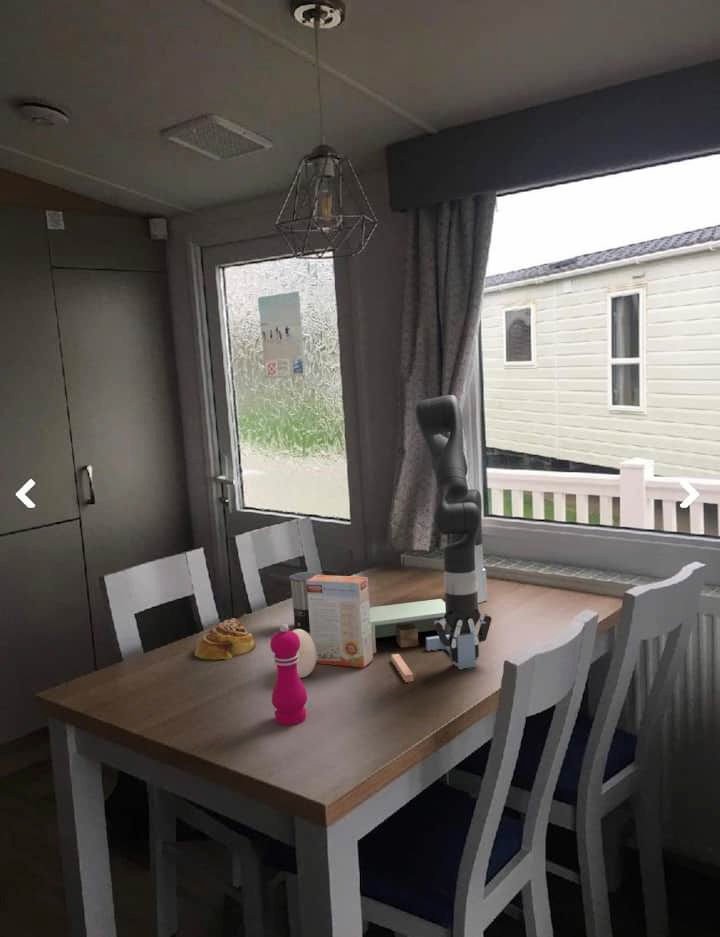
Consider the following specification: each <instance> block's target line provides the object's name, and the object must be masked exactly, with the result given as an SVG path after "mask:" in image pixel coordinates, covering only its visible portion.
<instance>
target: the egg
mask: <svg viewBox="0 0 720 937" xmlns="http://www.w3.org/2000/svg"><path fill="white" fill-rule="evenodd" d="M291 631H292V632H294V633H296V634H297V635H298V637H299V639H300V648H299V650H298V651H297V653H298V654H299V656H298V658H299V661H298V662H297V673H298V676H299V678H300V679H302V678H305V677H307V676H309V675H310V674H311V673H312V672H313V670H314V669H315V666H316V664H317V663H316V659H317V653H316V647H315V644H314V642H313V640H312V638H311V636H310V633H308V632H306V631H304V630H302V629H293V630H291Z"/></svg>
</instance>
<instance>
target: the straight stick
mask: <svg viewBox="0 0 720 937" xmlns="http://www.w3.org/2000/svg"><path fill="white" fill-rule="evenodd" d="M390 656H391V662H393V663H392V664H393V666H394V665H395V666H396V667H395V666H394V667H395V669H396V668H397V669H396V670H397V672H398V671H399V672H398V673H399V675H400V674H401V675H400V677H401V678H402V677H403V678H402V679H403V681H404V680H405V681H404V682H405V683H406V682H408V681H413V682H414V674H413V672H412V671H411V669H410V668H409V666H408V665H407V664H406V662H405V661H404V660H403V658H402V656H401V655H400V654H399V653H393V654H392V653H391V655H390ZM408 683H409V682H408Z"/></svg>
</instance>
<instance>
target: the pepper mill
mask: <svg viewBox="0 0 720 937" xmlns="http://www.w3.org/2000/svg"><path fill="white" fill-rule="evenodd" d="M292 631H293V630H289V626H288V624H287V623H282V624H281V625H280V626H279V631H278V632H276V633H275V634H274V635H272V637H271V639H270V650H271V652H272V653H273V654H274V656H273V659H274V660H273V662H274V664H275V665H276V667H277V668H276V669H277V677H276V680H275V684H274V685H273V689H272V693H271V704H272V706H273V707H274V708H275V709H276V710H275V711H274V714H275V722H276V723H278V724H279V725H283V726H294V725H298V724H300V723H302V722H304V721H305V720H306V718H307V710H306V707H305V705H306V703H307V702H308V694H307V690H306V688H305V686H304V683H303V682H302V680H301V678H299V676H298V673H297V662H298V661H299V658H298V656H299V654H298V653H297V651H298V650H299V648H300V639H299V637H298V635H297V634H296V633H294V632H292Z"/></svg>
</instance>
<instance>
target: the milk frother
mask: <svg viewBox="0 0 720 937" xmlns="http://www.w3.org/2000/svg"><path fill="white" fill-rule="evenodd" d="M315 575H324V574H323V573H322V572H319V571H304V572H297V573H294V574H291V575H289V579H290V587H291V596H292V597H291V598H292V610H293V620H294V622H293V624H294V626H293V630H295V629H302V630H304V631H306V632H307V633H308V632H309V633H310V624H309V610H308V596H307V583H306V581H307V580H308V579H310V578H312V577H314V576H315Z"/></svg>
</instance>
